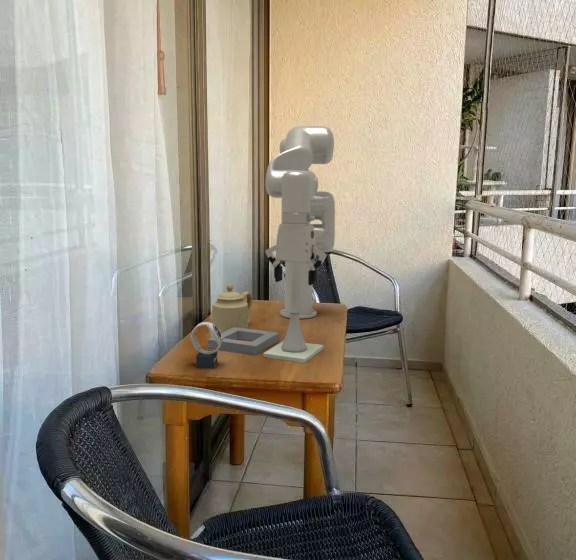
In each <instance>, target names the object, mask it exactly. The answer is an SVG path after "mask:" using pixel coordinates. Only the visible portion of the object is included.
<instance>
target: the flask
mask: <svg viewBox="0 0 576 560" xmlns="http://www.w3.org/2000/svg"><path fill="white" fill-rule="evenodd" d="M289 316H290V318H289V321H288V322H289V323H288V327H287V330H286V333H285V337H284V338H283V340H282V341H283V344H282V347H281V348H282V350H284V351H290V352H302V351H304V350H306V349H307V346H306V343H307V342H306V341H305V337H304V335H303V330H302V328H301V324H300V323H301V322H300V319H299V316H300V313H297V312H291V313H289Z"/></svg>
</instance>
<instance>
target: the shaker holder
mask: <svg viewBox="0 0 576 560" xmlns="http://www.w3.org/2000/svg"><path fill="white" fill-rule="evenodd" d="M222 336H223V341H222V343H221V345H220V347H219V349H218V350H217V351H219V350H220V351H226V352H233V353H239V354H240V353H241V354H247V355H253V356H257V355H258V354H260V353H262V352H263V351H265V350H267V349H268V348H271V346H272V347H273V345H275V344H277V343H278V342H280V332H276V331H275V332H274V331H267V330H261V329H260V330H259V329H252V328H248V329H245V328H238V327H233V328H231V329H229V330H227V331H225V332H223V333H222ZM218 346H219V345H218V344H217V342H216V341H215V340H214V339H213V338H212V337H210V338H208V339H207V348H208V349H210V350H215V349H216V348H217V347H218Z"/></svg>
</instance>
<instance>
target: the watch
mask: <svg viewBox="0 0 576 560" xmlns="http://www.w3.org/2000/svg"><path fill="white" fill-rule="evenodd" d="M201 326H206V327H207V328H208V331H209V333H210V335H211V338H213V339H214V340H215V341H216V342H217V344H218V345H219V346H218V347H217V348H216V349H203V348H202V346H201V345H200V343H199V341H198V340H197V336H196V334H195V331H196V330H197V328H199V327H201ZM190 341H191V343H192V346H193V347H194V349H195V351H197V352H198V353H197V354H196V357H195V361H196V363H195V365H196V369H215V367H216V365H217V363H218V351H219V350H218V349H219V347H220V345H221V343H222V341H223V336H222V333H221V331H220V329H219V328H218V326H217V325H216V324H213V322H211V321H202V322H200V323H198V324H197V325H196V326H195V327H194V328H193V329H192V331H191V334H190Z"/></svg>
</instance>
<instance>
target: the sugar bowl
mask: <svg viewBox="0 0 576 560" xmlns="http://www.w3.org/2000/svg"><path fill="white" fill-rule="evenodd" d="M233 287H234V286H233V284H232V283H231V282H229V283H228V284H227V285H226V290H227V291H224V292H221V293H220V294H218V295H217V296H216V299H217V300H216V301H215V302H213V303H212V304H211V305H212V306H211V307H212V308H211V309H212V312H211V313H212V315H211V317H212V319H211V320H212V322H211V323H212V324H216V325H217V326H218V328H219V329H220V331H221V333H223V332H225V331H227V330H229V329H231V328H233V327H238V328H245V329H249V323H248V321H249V314H250V312H251V309H252V306H253V296H252V293H251V292H249V291H243V292H242V293H240V292H238V291H233V289H234V288H233ZM245 299H246V301H245Z"/></svg>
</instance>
